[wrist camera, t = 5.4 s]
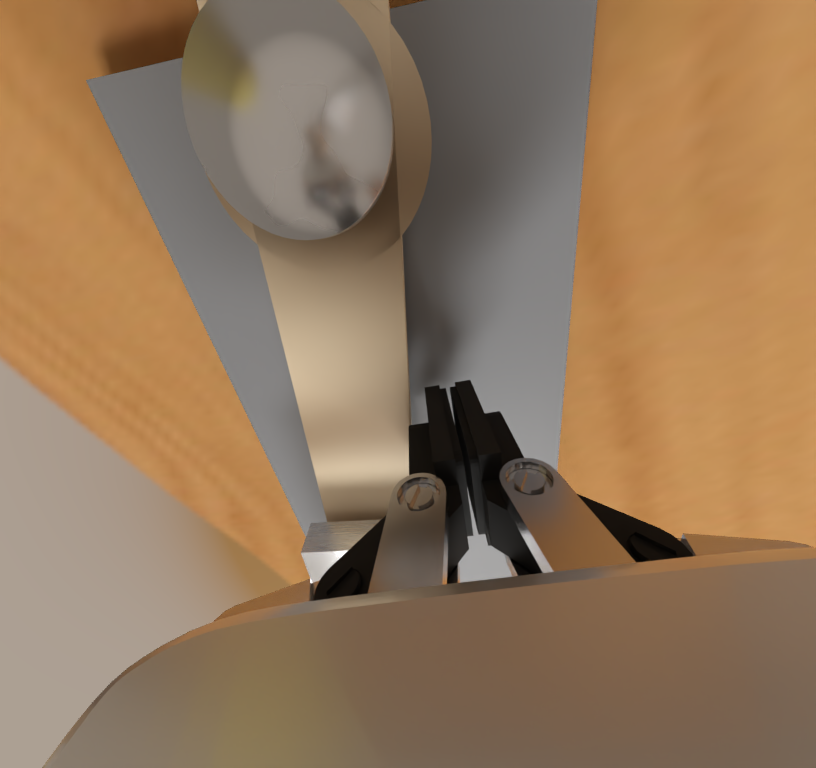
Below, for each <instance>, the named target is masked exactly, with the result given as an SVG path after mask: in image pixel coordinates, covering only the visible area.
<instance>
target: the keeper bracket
mask: <svg viewBox="0 0 816 768" xmlns="http://www.w3.org/2000/svg"><path fill="white" fill-rule="evenodd" d="M380 520H381V519H379V520H359V521H340V522H320V523H311V524H310V527H309V530H308V533H307V536H306V539H305V542H304V545H303V548H302V551H301V554H302V557H303V560H304V562H305V565H306V568H307V570H308V573H309V576H310V578H311V581H312V583H313V582H316V581H319V580H320V579H321V577H322V576H323V575H324V574H325V573H326V571H327V570H328V569H329V568H330V567H331V566H332V565H333V564H334V563H335V562H336V561H338V560H339V559H340V558H341V557H342V556H343V555H344V554H345V553H346V552H347V551H348V550H349V549H350V548H351V547H353V546H354V545H355V544H356V543H357V542H358V541H359V540H360V539H361V538H362V537H363V536H364V535H365V534H366V533H367V532H369V531H370V530H371V529H372V528H373V527H374V526H375V525H376V524H377V523H378V522H379V521H380Z"/></svg>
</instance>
